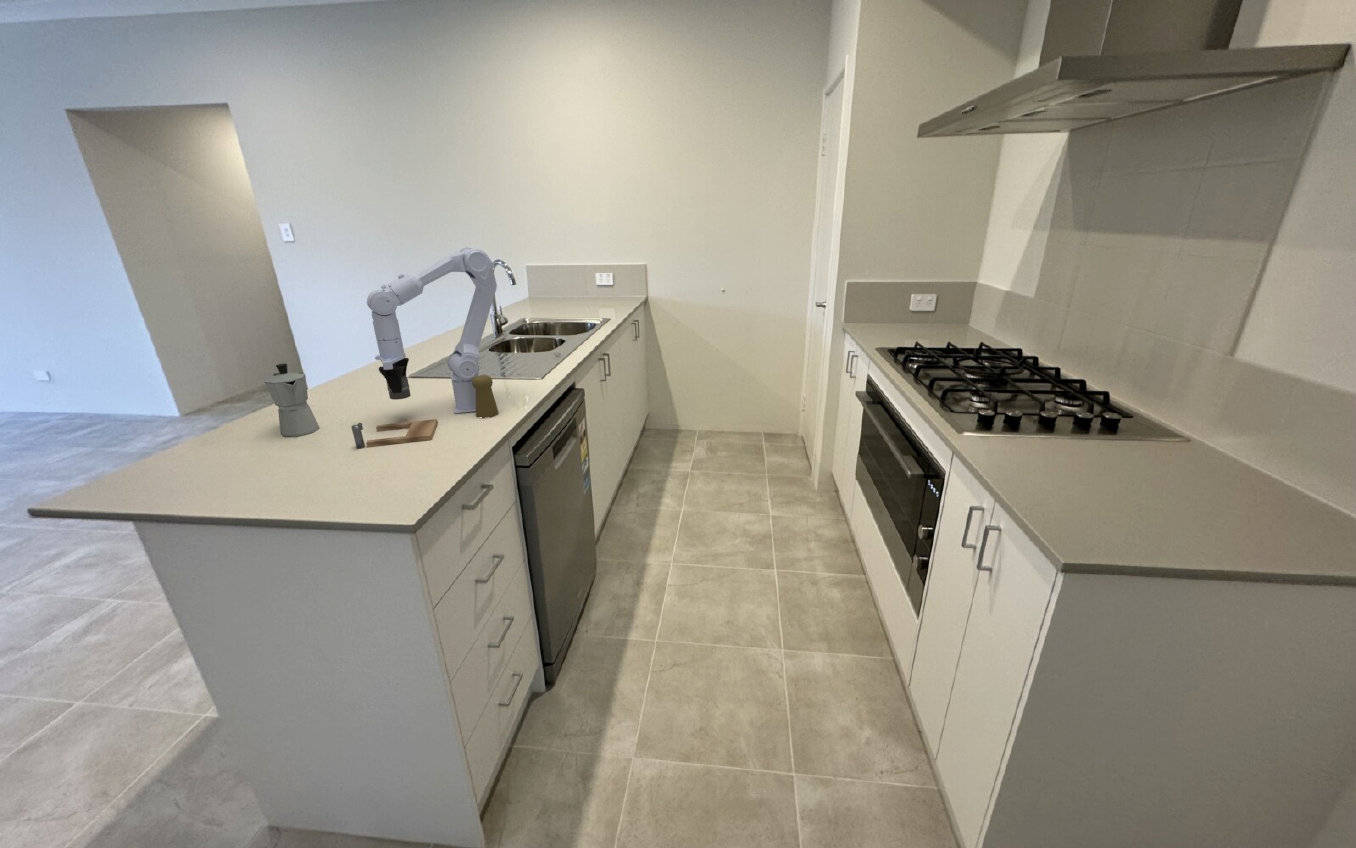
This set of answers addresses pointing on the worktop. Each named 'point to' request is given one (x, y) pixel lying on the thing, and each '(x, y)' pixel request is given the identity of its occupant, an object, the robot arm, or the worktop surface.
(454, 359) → the robot arm
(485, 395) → the olive pawn
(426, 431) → the brown wooden u-shaped bracket
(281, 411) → the coffee maker
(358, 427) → the hook
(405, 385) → the grey flanged cylinder
